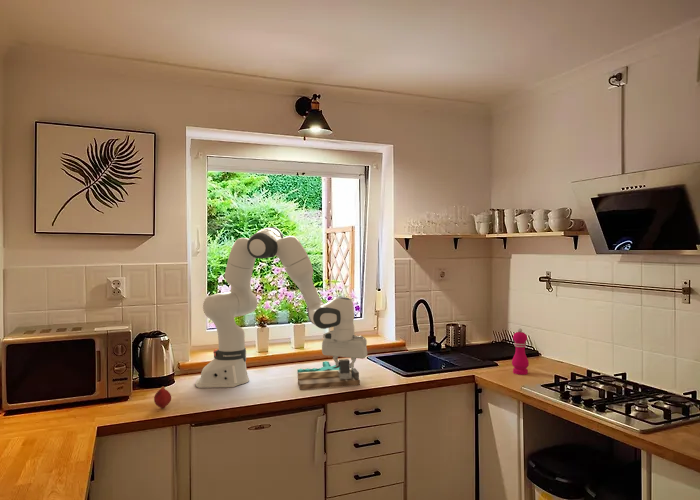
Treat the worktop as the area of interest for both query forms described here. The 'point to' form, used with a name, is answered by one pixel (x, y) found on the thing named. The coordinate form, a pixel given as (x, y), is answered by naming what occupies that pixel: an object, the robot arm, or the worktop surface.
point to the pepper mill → (520, 354)
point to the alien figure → (325, 368)
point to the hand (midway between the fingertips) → (344, 367)
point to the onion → (162, 398)
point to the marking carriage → (344, 370)
